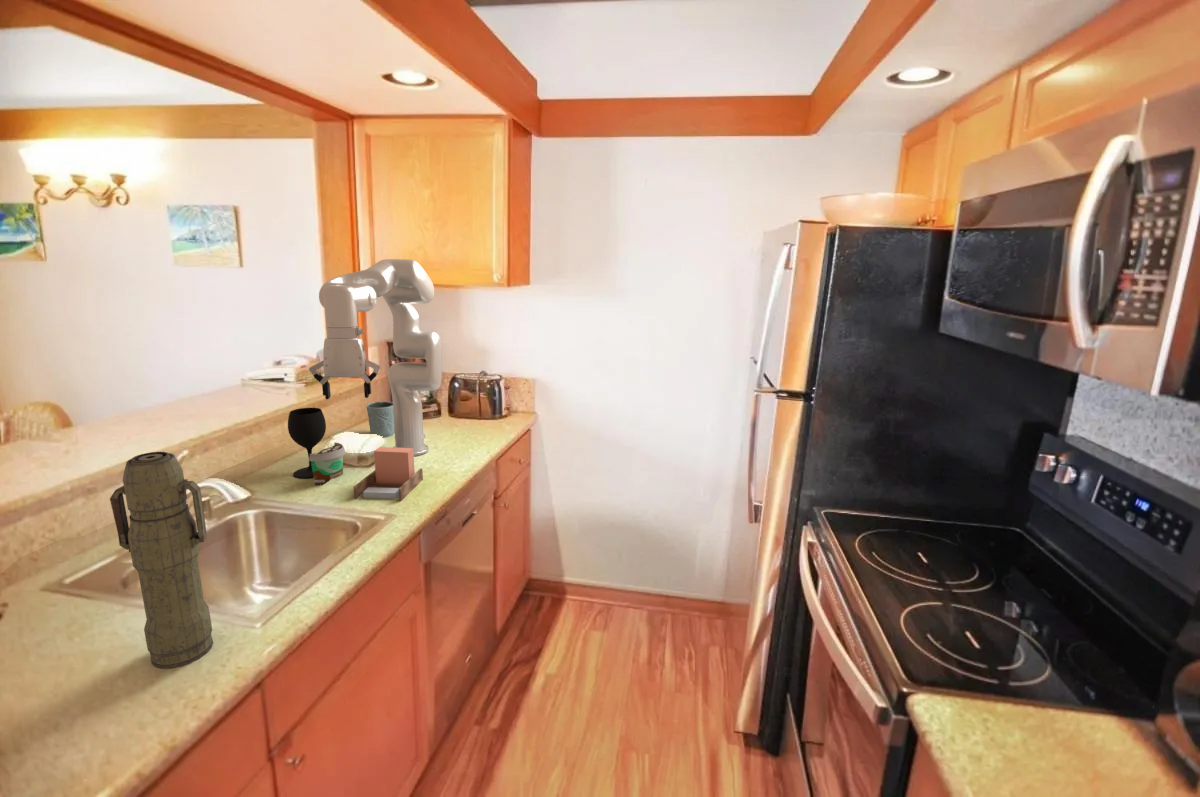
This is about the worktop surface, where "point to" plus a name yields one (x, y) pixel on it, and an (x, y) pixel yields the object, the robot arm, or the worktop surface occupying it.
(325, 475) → the food container
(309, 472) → the wine glass
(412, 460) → the pink slab
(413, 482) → the rack
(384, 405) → the blue-grey embossed cup
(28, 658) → the worktop surface
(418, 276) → the robot arm
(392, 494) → the offcut upper
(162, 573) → the thermos
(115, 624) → the worktop surface
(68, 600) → the worktop surface
